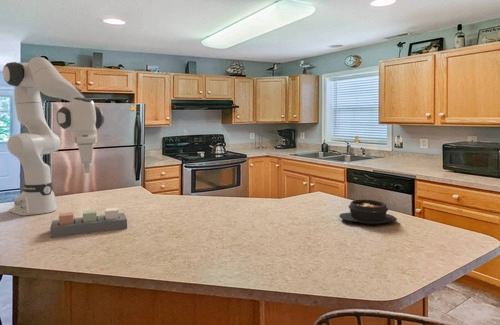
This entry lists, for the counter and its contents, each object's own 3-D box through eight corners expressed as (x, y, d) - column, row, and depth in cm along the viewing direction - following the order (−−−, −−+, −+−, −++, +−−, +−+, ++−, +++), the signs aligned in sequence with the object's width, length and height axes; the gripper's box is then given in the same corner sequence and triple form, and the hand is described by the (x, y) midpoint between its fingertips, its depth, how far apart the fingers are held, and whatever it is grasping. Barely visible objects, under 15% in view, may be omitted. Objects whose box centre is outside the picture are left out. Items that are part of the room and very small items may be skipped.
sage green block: (83, 225, 141) (82, 213, 141) (83, 222, 146) (82, 210, 145) (96, 224, 143) (96, 212, 143) (96, 221, 148) (95, 209, 147)
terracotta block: (59, 228, 138) (58, 216, 137) (60, 225, 142) (59, 213, 141) (73, 226, 140) (73, 214, 139) (74, 223, 144) (73, 211, 144)
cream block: (106, 223, 145) (105, 211, 144) (105, 220, 149) (104, 208, 149) (118, 221, 147) (118, 210, 146) (117, 218, 151) (117, 207, 151)
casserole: (345, 227, 148) (345, 208, 147) (334, 215, 166) (335, 198, 165) (404, 227, 148) (405, 208, 147) (387, 215, 166) (388, 198, 165)
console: (50, 238, 134) (50, 228, 133) (52, 229, 144) (52, 220, 143) (127, 228, 146) (126, 219, 145) (124, 221, 156) (124, 212, 155)
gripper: (76, 137, 148) (78, 169, 150) (76, 139, 130) (78, 176, 132) (93, 136, 151) (94, 168, 153) (94, 139, 133) (96, 175, 134)
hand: (87, 172), depth 142 cm, fingers open, 3 cm apart
